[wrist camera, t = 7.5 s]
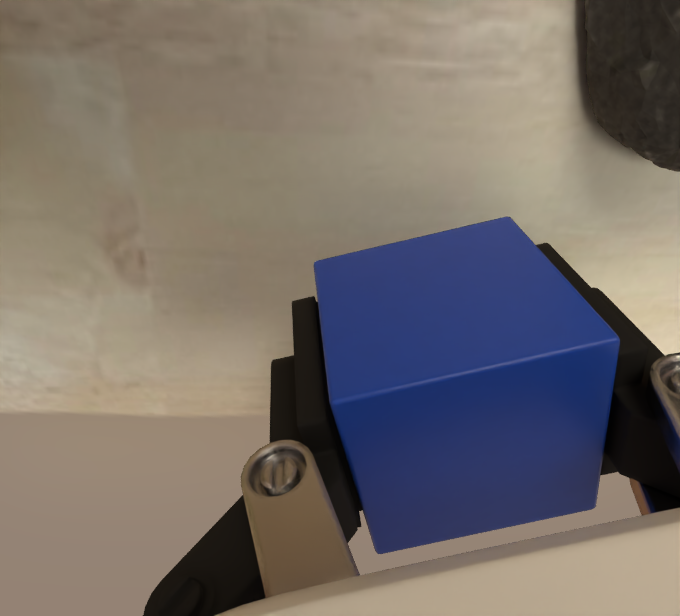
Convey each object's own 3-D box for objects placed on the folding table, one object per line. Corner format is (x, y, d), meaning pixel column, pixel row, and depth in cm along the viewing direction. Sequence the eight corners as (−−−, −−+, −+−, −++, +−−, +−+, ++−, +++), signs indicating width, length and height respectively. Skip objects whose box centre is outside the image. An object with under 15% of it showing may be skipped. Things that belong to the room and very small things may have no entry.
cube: (350, 399, 14) (376, 556, 10) (312, 260, 11) (328, 403, 8) (511, 363, 14) (597, 510, 10) (509, 214, 11) (623, 337, 8)
